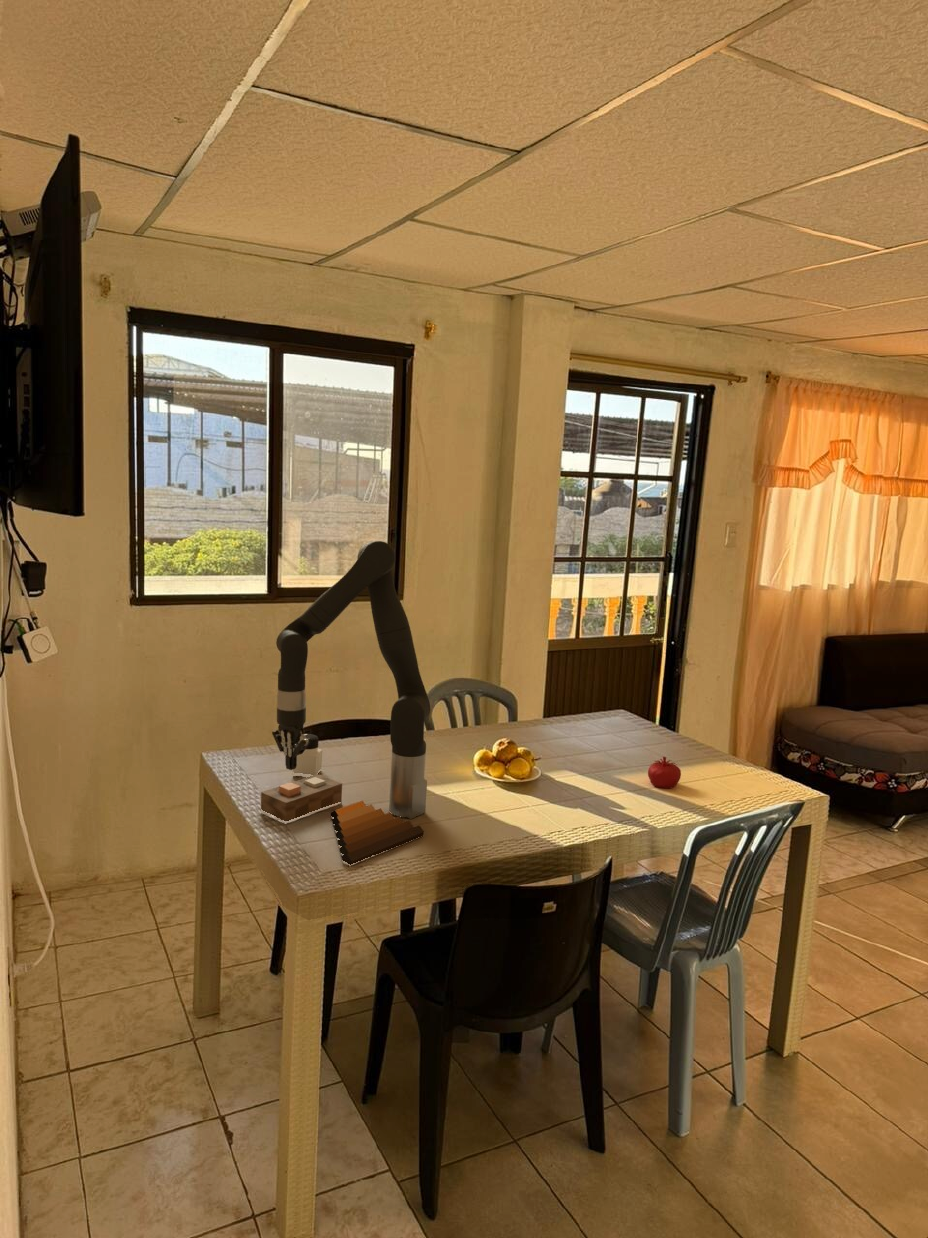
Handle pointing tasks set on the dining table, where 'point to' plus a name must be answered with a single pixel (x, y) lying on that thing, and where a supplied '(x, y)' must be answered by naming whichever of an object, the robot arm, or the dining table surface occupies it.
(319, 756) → the medicine bottle
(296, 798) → the board
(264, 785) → the dining table surface
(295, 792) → the orange-brown rectangular block
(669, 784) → the pomegranate
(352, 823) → the pan flute
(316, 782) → the beige rectangular block
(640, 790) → the dining table surface
